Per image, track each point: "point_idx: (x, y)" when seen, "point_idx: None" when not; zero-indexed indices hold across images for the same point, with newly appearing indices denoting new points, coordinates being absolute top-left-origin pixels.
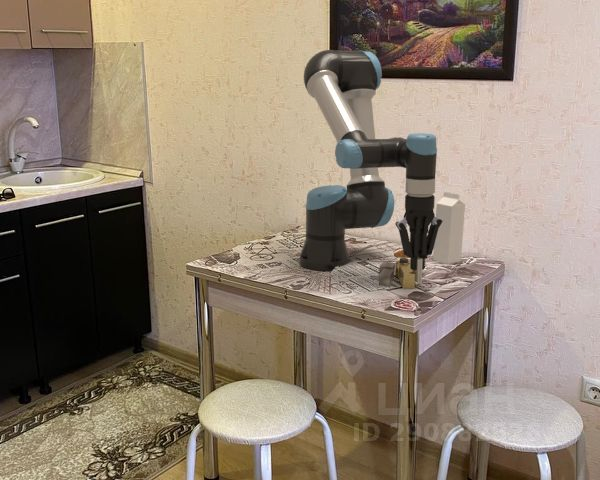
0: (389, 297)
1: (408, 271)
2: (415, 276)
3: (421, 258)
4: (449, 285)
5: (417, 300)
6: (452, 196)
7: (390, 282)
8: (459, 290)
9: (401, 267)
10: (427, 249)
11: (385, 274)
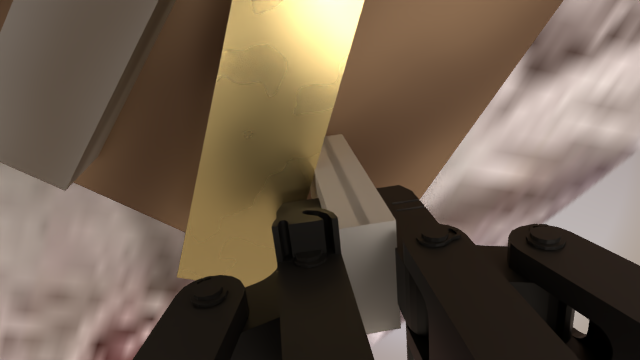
0: (80, 267)
1: (247, 221)
2: (314, 198)
3: (397, 312)
4: (571, 102)
5: None
6: None
7: (115, 115)
8: (563, 202)
9: (224, 78)
10: (561, 305)
11: (27, 147)
